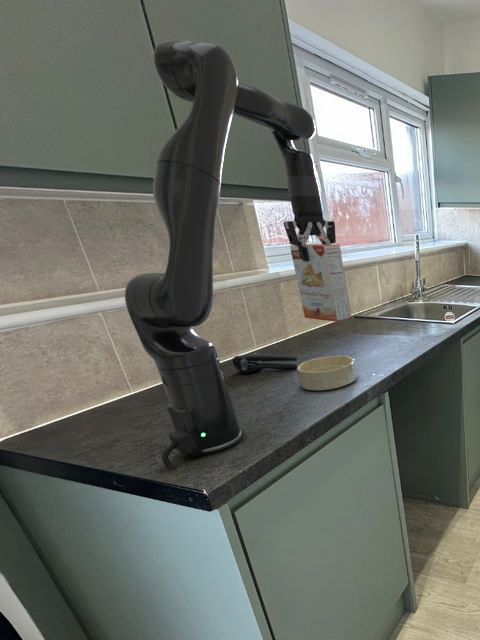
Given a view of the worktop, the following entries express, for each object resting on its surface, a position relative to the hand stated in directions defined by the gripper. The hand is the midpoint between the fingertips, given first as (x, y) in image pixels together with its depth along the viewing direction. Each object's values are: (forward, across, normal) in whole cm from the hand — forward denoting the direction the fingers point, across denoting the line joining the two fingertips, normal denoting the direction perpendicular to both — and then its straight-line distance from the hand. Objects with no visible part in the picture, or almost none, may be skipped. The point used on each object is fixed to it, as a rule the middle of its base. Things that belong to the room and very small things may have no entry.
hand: (317, 260), depth 117 cm
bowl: (+31, -10, -12) cm, 35 cm away
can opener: (+31, -13, +14) cm, 37 cm away
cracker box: (+17, 0, 0) cm, 17 cm away
